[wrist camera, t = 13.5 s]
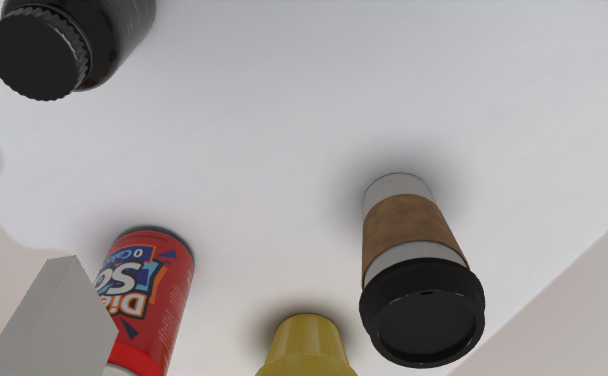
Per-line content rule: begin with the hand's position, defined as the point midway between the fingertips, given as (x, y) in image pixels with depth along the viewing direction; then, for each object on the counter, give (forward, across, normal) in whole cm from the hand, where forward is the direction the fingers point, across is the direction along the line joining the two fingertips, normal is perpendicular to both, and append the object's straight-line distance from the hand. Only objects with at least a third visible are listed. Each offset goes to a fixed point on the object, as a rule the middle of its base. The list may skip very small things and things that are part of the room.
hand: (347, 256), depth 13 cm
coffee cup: (+29, +3, -19) cm, 35 cm away
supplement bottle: (+29, -15, +2) cm, 33 cm away
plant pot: (+29, -8, -34) cm, 45 cm away
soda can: (+29, -20, -21) cm, 41 cm away
